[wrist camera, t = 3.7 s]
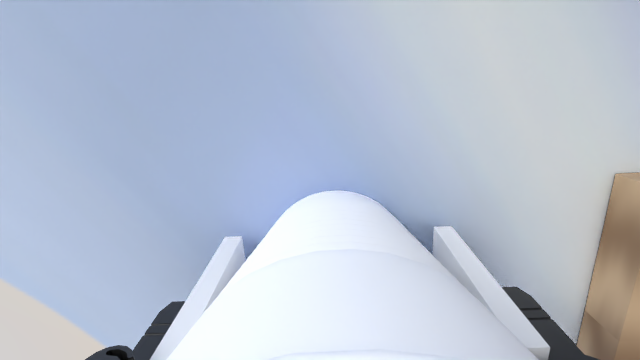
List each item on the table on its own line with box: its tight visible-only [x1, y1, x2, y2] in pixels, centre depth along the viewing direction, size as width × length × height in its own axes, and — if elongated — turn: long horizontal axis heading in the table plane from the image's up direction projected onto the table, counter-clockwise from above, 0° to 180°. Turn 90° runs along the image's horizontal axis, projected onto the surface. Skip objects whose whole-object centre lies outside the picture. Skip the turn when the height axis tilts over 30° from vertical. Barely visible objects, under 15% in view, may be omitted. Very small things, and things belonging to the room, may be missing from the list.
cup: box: [166, 190, 539, 360], centre depth 10 cm, size 10×10×11 cm
